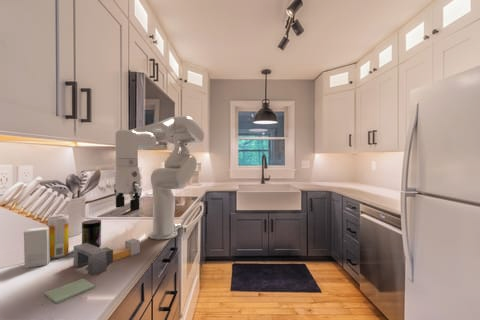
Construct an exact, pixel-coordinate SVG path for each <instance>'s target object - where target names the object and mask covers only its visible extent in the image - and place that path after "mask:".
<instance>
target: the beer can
mask: <svg viewBox="0 0 480 320" xmlns="http://www.w3.org/2000/svg"><path fill="white" fill-rule="evenodd" d="M57 214H58V215H54V214H50V215H49V217H48V218H47V227H49V233H50V259H52V260H53V259H60V258H63V257H65V256H67V255H68V253H69V245H70V244H69V239H70V238H69V237H70V236H69V235H70V233H69V230H70V229H69V227H70V226H69V225H70V223H69V220H70V219H69V218H70V216H69V215H68V213H65V212H64V213H57ZM51 215H53V216H51Z"/></svg>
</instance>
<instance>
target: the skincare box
mask: <svg viewBox="0 0 480 320" xmlns="http://www.w3.org/2000/svg"><path fill="white" fill-rule="evenodd" d="M23 247H24V248H23V249H24V250H23V253H24V255H23V257H24V268H25V269H29V268H35V267H40V266H46V265H48V264H49V263H50V262H51V258H50V233H49V227H48V226H43V227H33V228H27V229H26V230H25V231H24V232H23Z"/></svg>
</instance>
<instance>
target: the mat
mask: <svg viewBox="0 0 480 320" xmlns="http://www.w3.org/2000/svg"><path fill="white" fill-rule="evenodd" d="M94 288H96V285H95V284H94V283H92V282H89V281H88V280H86V279H85V278H81V279H78V280H75V281H73V282H70V283H68V284H67V283H66V284H65V285H61V286H60V287H57V288H54V289H51V290H49V291H46V292H45V293H44V295H45V296H46V295H47V296H48V297H47V296H46V297H47V298H49V299H50V300H51V299H52V300H53V302H54V303H55V304H59V303H61V302H63V301H65V300H68V299H70V298H73V297H75V296H77V295H80V294H83V293H85V292H87V291H89V289H90V290H91V289H94ZM84 291H85V292H84ZM82 292H83V293H82ZM52 300H51V301H52Z"/></svg>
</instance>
